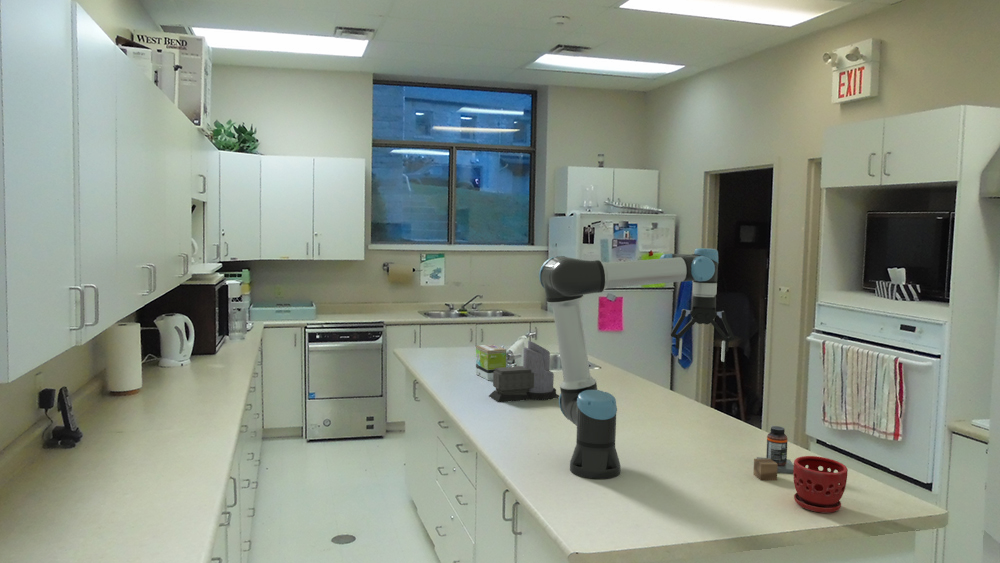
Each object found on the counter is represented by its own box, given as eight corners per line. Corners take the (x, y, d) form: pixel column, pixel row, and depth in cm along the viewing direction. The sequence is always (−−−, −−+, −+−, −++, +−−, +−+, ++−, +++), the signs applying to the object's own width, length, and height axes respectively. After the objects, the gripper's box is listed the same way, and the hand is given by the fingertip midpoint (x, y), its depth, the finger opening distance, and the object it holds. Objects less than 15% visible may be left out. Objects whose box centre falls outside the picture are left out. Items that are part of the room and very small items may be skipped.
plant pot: (783, 506, 193) (785, 462, 192) (804, 494, 203) (806, 452, 202) (833, 521, 184) (836, 475, 183) (852, 507, 193) (855, 463, 192)
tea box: (475, 374, 356) (475, 344, 354) (493, 373, 360) (494, 343, 359) (487, 380, 342) (487, 349, 341) (506, 379, 346) (507, 348, 345)
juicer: (549, 390, 324) (550, 336, 323) (565, 398, 310) (566, 342, 308) (486, 395, 314) (487, 339, 312) (499, 404, 299) (500, 345, 297)
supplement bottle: (769, 458, 229) (771, 423, 228) (789, 463, 225) (790, 427, 225) (763, 463, 225) (764, 427, 224) (782, 467, 221) (784, 431, 220)
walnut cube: (776, 480, 213) (777, 464, 213) (760, 480, 213) (761, 464, 213) (769, 474, 218) (770, 458, 218) (753, 474, 218) (754, 458, 218)
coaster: (796, 473, 219) (796, 469, 219) (761, 471, 221) (762, 467, 221) (789, 463, 229) (789, 459, 229) (756, 460, 231) (756, 457, 231)
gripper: (742, 296, 238) (739, 360, 240) (665, 292, 243) (662, 355, 245) (745, 298, 231) (742, 364, 232) (665, 294, 236) (662, 359, 237)
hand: (701, 359), depth 239 cm, fingers open, 13 cm apart
